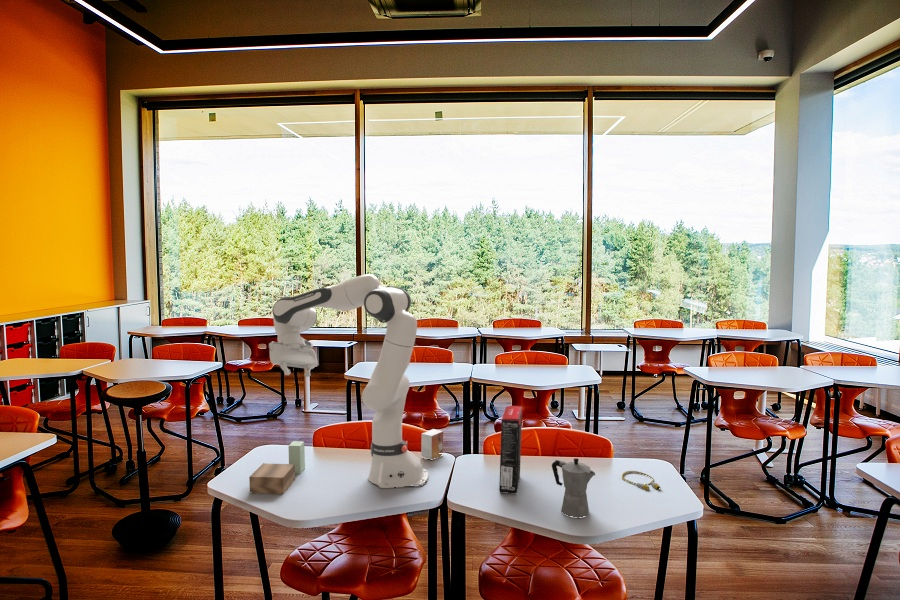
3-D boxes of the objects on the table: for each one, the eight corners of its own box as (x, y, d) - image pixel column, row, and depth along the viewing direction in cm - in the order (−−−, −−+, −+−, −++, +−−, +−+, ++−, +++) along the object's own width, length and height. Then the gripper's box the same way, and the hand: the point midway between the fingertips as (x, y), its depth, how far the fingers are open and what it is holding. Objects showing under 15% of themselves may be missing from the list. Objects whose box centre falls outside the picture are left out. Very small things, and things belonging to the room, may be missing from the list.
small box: (431, 461, 219) (431, 436, 218) (421, 458, 222) (420, 433, 221) (443, 455, 225) (443, 431, 224) (433, 452, 228) (433, 428, 227)
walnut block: (295, 479, 200) (294, 464, 200) (283, 494, 188) (282, 477, 188) (263, 479, 201) (263, 463, 200) (249, 493, 189) (249, 476, 188)
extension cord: (625, 490, 193) (625, 485, 193) (619, 472, 209) (619, 467, 209) (661, 492, 191) (661, 487, 191) (652, 475, 207) (652, 469, 207)
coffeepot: (600, 512, 175) (601, 459, 174) (587, 523, 168) (588, 468, 167) (558, 498, 185) (559, 448, 184) (544, 508, 178) (545, 456, 177)
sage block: (304, 468, 211) (304, 441, 210) (300, 473, 206) (300, 445, 205) (293, 468, 211) (293, 441, 210) (289, 473, 206) (288, 445, 205)
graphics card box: (503, 474, 206) (504, 404, 203) (521, 475, 205) (522, 405, 202) (499, 494, 189) (499, 418, 187) (518, 495, 188) (519, 419, 185)
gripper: (273, 336, 202) (280, 368, 195) (315, 343, 218) (323, 373, 211) (263, 345, 205) (270, 377, 198) (306, 351, 221) (313, 381, 214)
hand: (298, 375), depth 205 cm, fingers open, 8 cm apart
